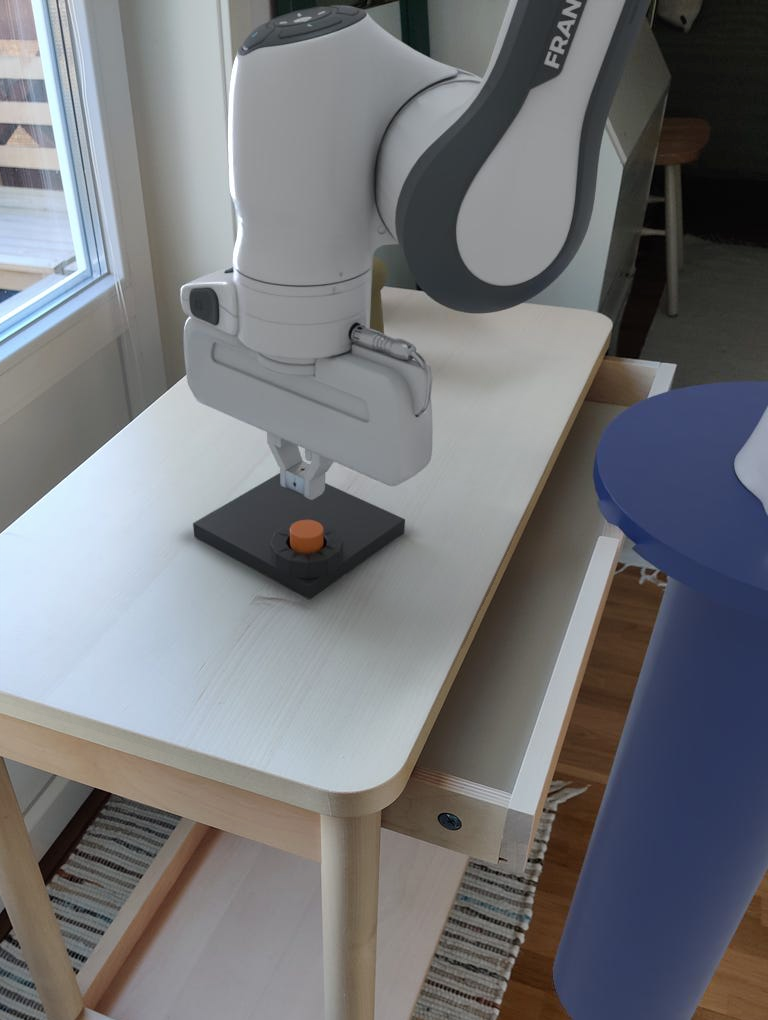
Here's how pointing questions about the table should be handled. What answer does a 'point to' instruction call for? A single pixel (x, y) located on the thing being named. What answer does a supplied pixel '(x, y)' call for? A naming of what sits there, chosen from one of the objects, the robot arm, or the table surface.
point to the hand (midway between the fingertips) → (302, 490)
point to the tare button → (306, 536)
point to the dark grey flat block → (266, 533)
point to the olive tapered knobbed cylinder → (377, 294)
